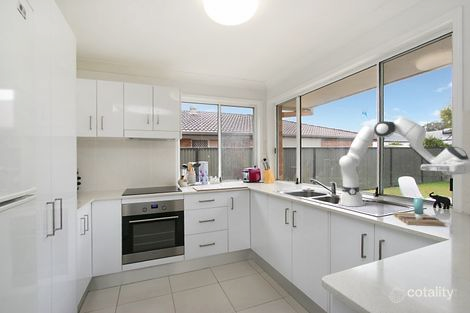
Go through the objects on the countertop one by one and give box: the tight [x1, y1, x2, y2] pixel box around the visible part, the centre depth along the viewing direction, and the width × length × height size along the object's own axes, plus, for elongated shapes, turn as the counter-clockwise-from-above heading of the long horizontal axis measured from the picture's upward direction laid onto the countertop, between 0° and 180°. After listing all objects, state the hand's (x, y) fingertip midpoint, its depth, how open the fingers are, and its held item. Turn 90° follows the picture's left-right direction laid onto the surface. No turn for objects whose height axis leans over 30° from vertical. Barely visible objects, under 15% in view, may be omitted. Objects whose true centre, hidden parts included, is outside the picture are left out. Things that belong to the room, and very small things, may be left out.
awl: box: [413, 197, 424, 220], centre depth 123 cm, size 4×4×13 cm
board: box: [392, 211, 446, 227], centre depth 126 cm, size 20×16×2 cm
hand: (429, 168), depth 128 cm, fingers open, 8 cm apart
